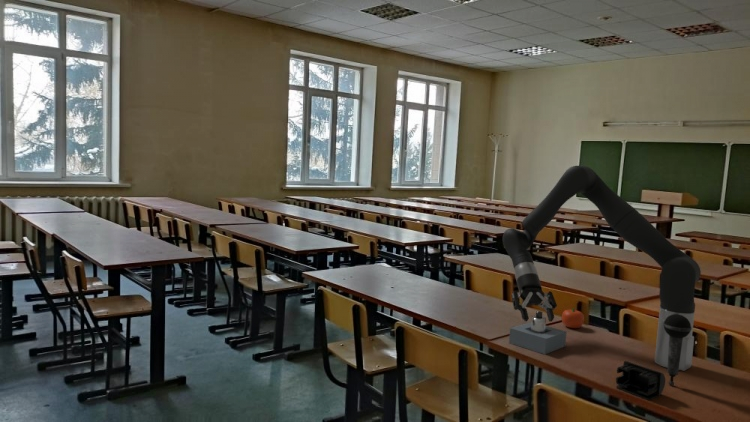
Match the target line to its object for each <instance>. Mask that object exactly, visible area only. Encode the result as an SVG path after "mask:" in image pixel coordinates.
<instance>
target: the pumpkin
mask: <svg viewBox="0 0 750 422" xmlns="http://www.w3.org/2000/svg"><path fill="white" fill-rule="evenodd" d="M561 314H562V315H561V322H562V324H563V326H565V327H567V328H569V329H579V328H581V327H583V324H584V321H585V316H584V313H582V312H581V311H579V310H576V309H575V308H574V307H573V308H572V309H565V310H564V311H563V312H562V313H561Z"/></svg>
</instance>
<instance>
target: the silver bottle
mask: <svg viewBox="0 0 750 422" xmlns="http://www.w3.org/2000/svg"><path fill="white" fill-rule="evenodd" d="M531 322H532V324H531V331H533V332H536V333H540V334H544V333H545V326H546V322H547V318H546V317H544V316H543V311H540V310H536V312H535V315H533V316H531Z"/></svg>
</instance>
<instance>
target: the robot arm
mask: <svg viewBox="0 0 750 422" xmlns="http://www.w3.org/2000/svg"><path fill="white" fill-rule="evenodd" d="M577 194H581V195H582V196H583V197H585V198H586V199H587V200H589V202H590V203H592V204H593V205H594V206H595V207H596V208H597V209H598V210H599V212H600V213H601V215H602V217H603V218H604V220H605V221H606V223H607V224H608V226H609V227H610V228H611V229H612V230H613V231H615V233H616V234H618V235H619V236H620V238H621V239H623V240H624V241H625V242H627V243H629V244H630V245H631V246H633V247H634V248H636V249H639V250H640V251H642V252H644V253H645V254H647V255H648V256H649V257H650V258H652V259H653V260H654V261H655V262H656V263H657V264H658V266H660V267H661V272H660V280H659V281H660V282H659V283H660V284H659V300H660V301H659V304H660V305H659V313H658V323H657V324H658V325H657V333H656V342H655V343H656V345H655V353H654V362H655V363H656V364H657V365H658V366H660V367H664V368H667V367H668V351H669V335H668V334H667V333H666V331H665V329H664V326H663V323H664V321H665V319H666V318H667V317H668V316H670V315H673V314H679V315H682V316H684V317H686V318H687V319H688V320H689V322H690V324H691V328H692V329H691V331H690V333H689V334H688V335H687V336H686V337H684V338H683V341H682V348H681V355H680V362H679V369H678V371H682V372H685V371H686V370H689V369H690V368H691V367H692V361H693V354H694V353H693V352H694V342H695V336H694V335H693V330H694V321H695V320H694V319H695V313H696V312H695V311H696V303H695V290H696V289H695V288H696V283H697V282H698V281H699V280H700V277H701V275H702V274H701V273H702V271H701V267H700V265H699V264H698V263H697V261H696V260H695V259H693V258H692V257H691V256H689V255H688V254H686V253H685V252H684V251H683V250H681V249H680V248H678V247H677V246H676V245H674V244H673V243H672V242H671V241H669V240H668V239H667V238H666V237H665V236H664V235H663V233H661V232H660V231H659V229H657V228H656V227H655V226H654V225H653V224H652V223H651V222H650V221H649V220H648V219H647V218H646V217H645V216H643V214H641V213H640V212H639V211H638V210H637V209H636V208H634V207H633V206H632V205H631V204H630V203H629V202H627V201H626V200H625V199H623V198H622V197H621V196H619V195H618V194H617V193H616V192H615V191H613V189H612V188H610V187H609V186H608V184H607V183H605V181H604V180H603V179H602V178H601V177H600V176H599V175H598V174H597V172H596V171H595V170H594V169H592V168H591V167H589V166H585V165H573V166H571V167H569V168H568V169H566V170H565V172H563V174H562V176H561V177H560V178H559V180H557V183H556V184H555V185H554V187H553V188H552V189H551V190H550V191H549V193H548V194H547V195H546V197H545V198H543V200H542V201H541V202H539V204H538V205H536V207H535V208H534V209H533V210H532V211H530V213H529V214H528V215H526V217H524V219H523V220H522V223H521V225H522V227H523V229H524V230H523V231H520V230H518V229H516V228H511V227H510V228H507V229H506V230H505V231H504V232H503V235H502V244H503V247H504V250H505V251H506V252H507V255H508V256H509V258H510V259H511V263H512V266H513V269H514V270H513V271H514V277H515V280H516V284H517V288H518V291H517V290H513V292H512V294H511V301H512V306H513V309H514V310H515V311H517V310H518V311H520V314H521V318H522V320H523V321H524V322H528V320H529V317H530V316H529V315H528V314H529V313H528V310H527V308H526V307H527V306H539V307H540V308H543V309H544V310H545V311H546V312H545V313H546V317H547V319H548V321H549V322H553V320H554V319H555V314H554V310H555V309H556V308H557V307H558V305H557V303H556V302H557V301H556V299H555V296H554V294H553V292H552V291H551V290H550V291H548V292H544V291H543V288H542V283H541V281H540V277H539V274H538V270H537V268H536V266H535V263H534V259H533V256H532V254H531V252H530V251H529V249H530V248H531V246H532V245H533V243H534V241H535V240H536V238H537V237H538V234H539V233H540V232H541V231H542V230H543V229H544V228H545V227H546V226H547V225H548V224H550V222H551V221H552V220H553V218H554V217H555V216H556V215H557V213H558V212H559V210H560V209H561V208H562V206H564V204H565V203H566V202H567V201H569V200H570V199H571V198H573V197H574V196H576V195H577ZM519 298H520V299H521V300H523V302H522V303H520V299H519Z"/></svg>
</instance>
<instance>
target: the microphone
mask: <svg viewBox="0 0 750 422" xmlns="http://www.w3.org/2000/svg"><path fill="white" fill-rule="evenodd" d="M663 326H664V329H665V331H666V333H667V334H668V335H669V351H668V367H666V368H667V371H666V373H667V374H668V376H670V380H669V382H668V385H669V386H672V387H673V386H674V385H675V382H674V377H675V378H676V376H678V375H679V370H678V369H679V362H680V355H681V348H682V341H683V338H684V337H686V336H687V335H688V334H689V333H690V331H691V329H692V328H691V324H690V322H689V320H688V319H687V318H686V317H684V316H682V315H679V314H673V315H670V316H668V317H667V318H666V319H665V321H664V323H663Z"/></svg>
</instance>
